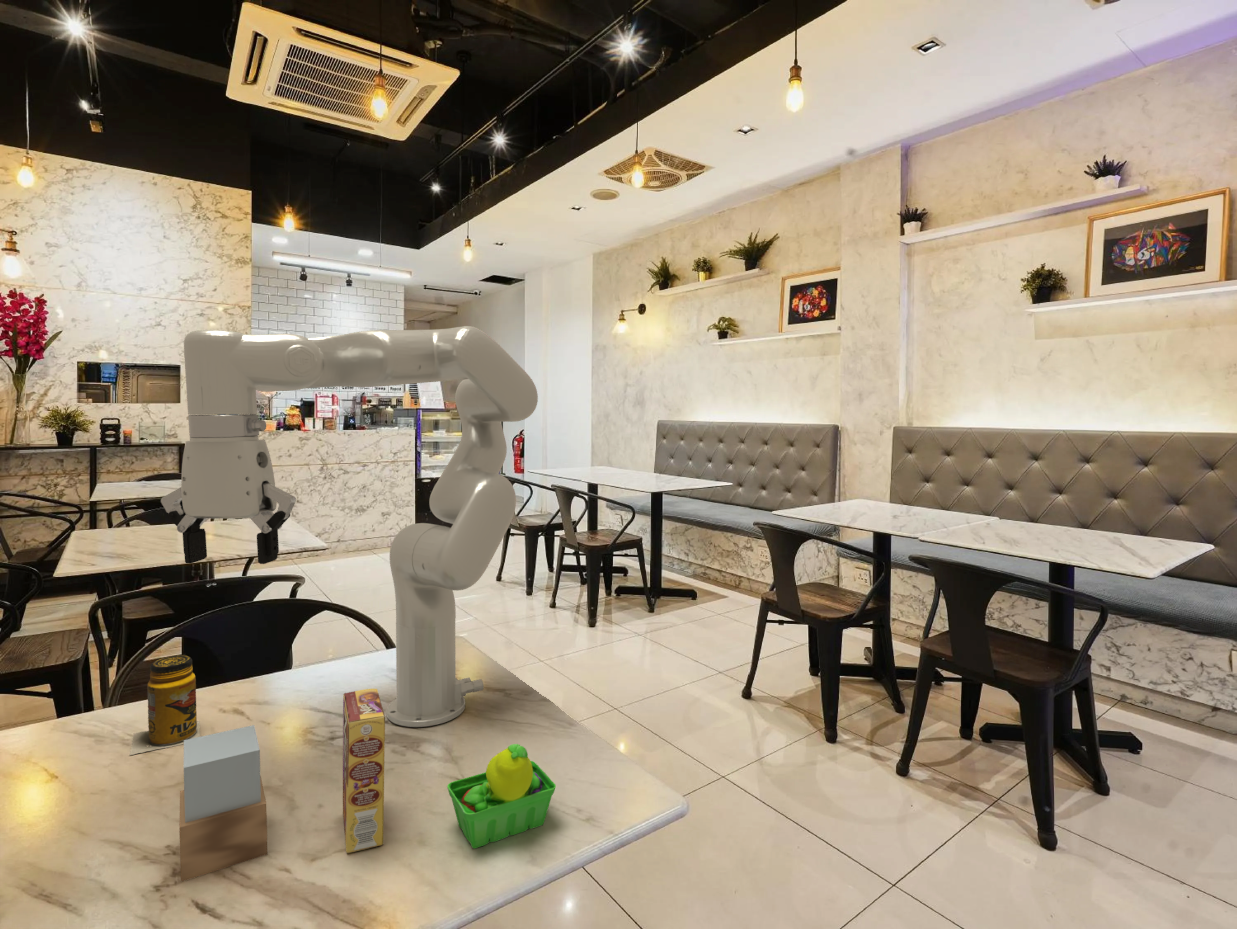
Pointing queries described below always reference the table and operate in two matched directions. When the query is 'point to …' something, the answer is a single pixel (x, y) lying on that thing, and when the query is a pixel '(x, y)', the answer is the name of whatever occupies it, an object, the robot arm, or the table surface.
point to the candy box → (363, 769)
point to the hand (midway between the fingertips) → (232, 561)
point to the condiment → (169, 705)
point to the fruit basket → (502, 798)
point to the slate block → (221, 772)
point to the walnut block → (222, 838)
